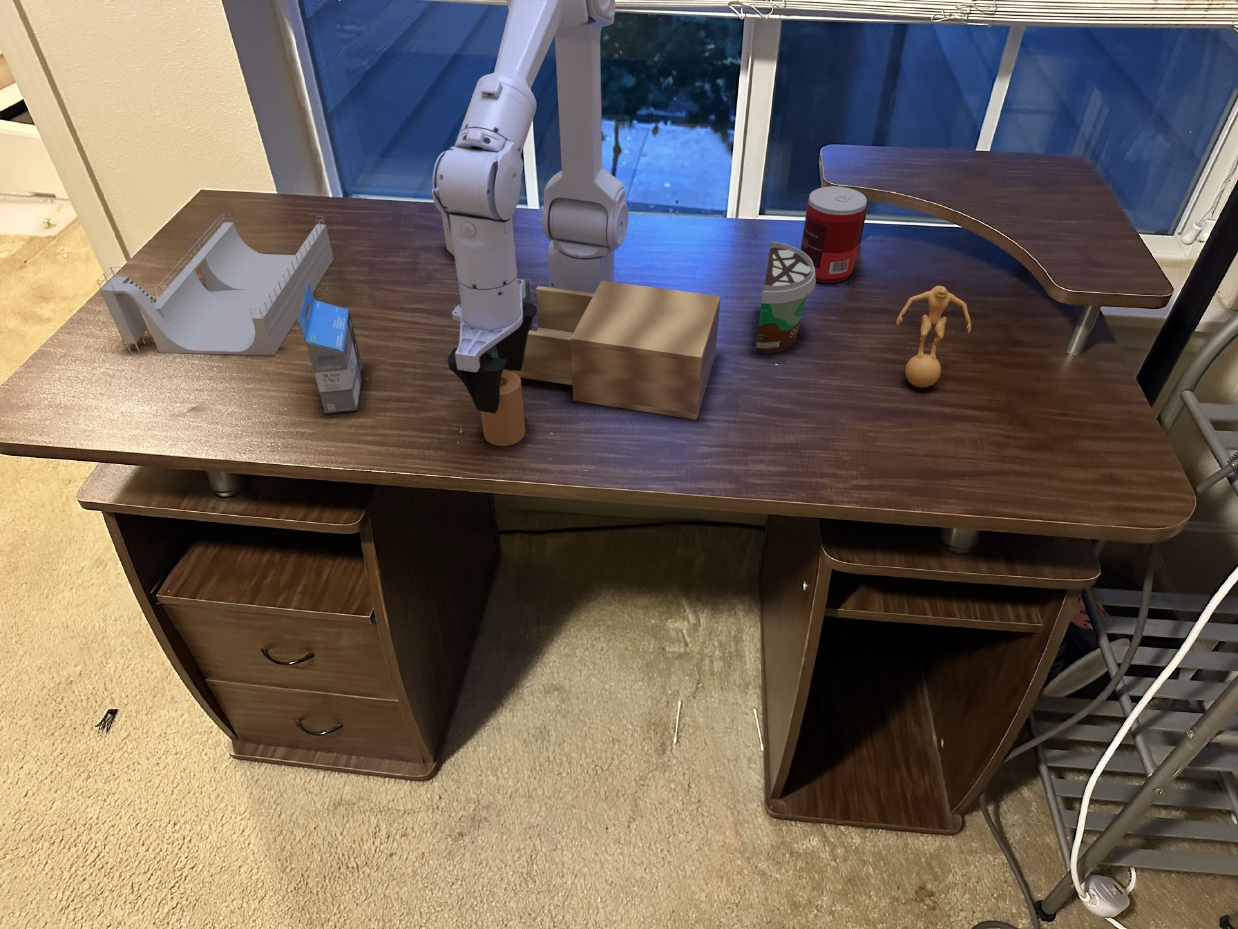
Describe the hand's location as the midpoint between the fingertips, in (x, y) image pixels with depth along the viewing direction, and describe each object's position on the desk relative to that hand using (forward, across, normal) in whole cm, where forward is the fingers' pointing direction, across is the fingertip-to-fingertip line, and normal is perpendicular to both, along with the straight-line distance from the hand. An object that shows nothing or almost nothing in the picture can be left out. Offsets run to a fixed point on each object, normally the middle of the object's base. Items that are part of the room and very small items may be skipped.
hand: (500, 388), depth 91 cm
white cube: (+6, -39, -19) cm, 43 cm away
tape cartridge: (+6, -3, -21) cm, 22 cm away
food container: (+6, -27, +28) cm, 40 cm away
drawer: (+5, -14, 0) cm, 15 cm away
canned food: (+6, -46, +32) cm, 56 cm away
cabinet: (+6, -14, +13) cm, 20 cm away
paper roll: (+6, 0, 0) cm, 6 cm away
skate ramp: (+6, -17, -44) cm, 48 cm away
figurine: (+6, -22, +45) cm, 50 cm away
